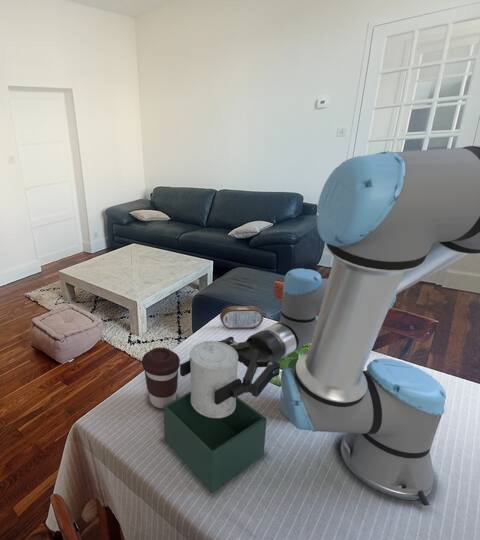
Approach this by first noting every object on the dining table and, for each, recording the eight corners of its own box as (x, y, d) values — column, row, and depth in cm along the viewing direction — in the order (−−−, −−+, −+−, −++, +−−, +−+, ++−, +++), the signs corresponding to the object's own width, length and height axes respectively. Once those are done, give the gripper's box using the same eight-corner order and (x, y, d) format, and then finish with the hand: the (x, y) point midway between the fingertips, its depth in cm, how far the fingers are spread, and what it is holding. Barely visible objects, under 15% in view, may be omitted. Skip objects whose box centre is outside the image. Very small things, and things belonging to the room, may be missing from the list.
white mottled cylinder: (241, 394, 74) (243, 347, 70) (229, 424, 67) (230, 374, 63) (199, 381, 79) (199, 337, 75) (183, 408, 72) (182, 361, 68)
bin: (263, 455, 75) (266, 418, 71) (211, 493, 68) (212, 454, 64) (212, 412, 88) (213, 379, 84) (164, 440, 81) (163, 405, 77)
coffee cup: (139, 394, 96) (135, 349, 91) (169, 383, 99) (168, 340, 94) (154, 417, 88) (151, 370, 82) (187, 405, 91) (186, 359, 85)
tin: (261, 324, 125) (262, 304, 122) (263, 329, 122) (265, 308, 119) (219, 325, 127) (220, 305, 124) (221, 330, 124) (221, 309, 121)
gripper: (314, 384, 71) (239, 434, 61) (232, 338, 89) (165, 370, 79) (318, 354, 68) (241, 401, 58) (233, 313, 86) (163, 343, 76)
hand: (197, 383), depth 69 cm, fingers closed on white mottled cylinder, 9 cm apart
